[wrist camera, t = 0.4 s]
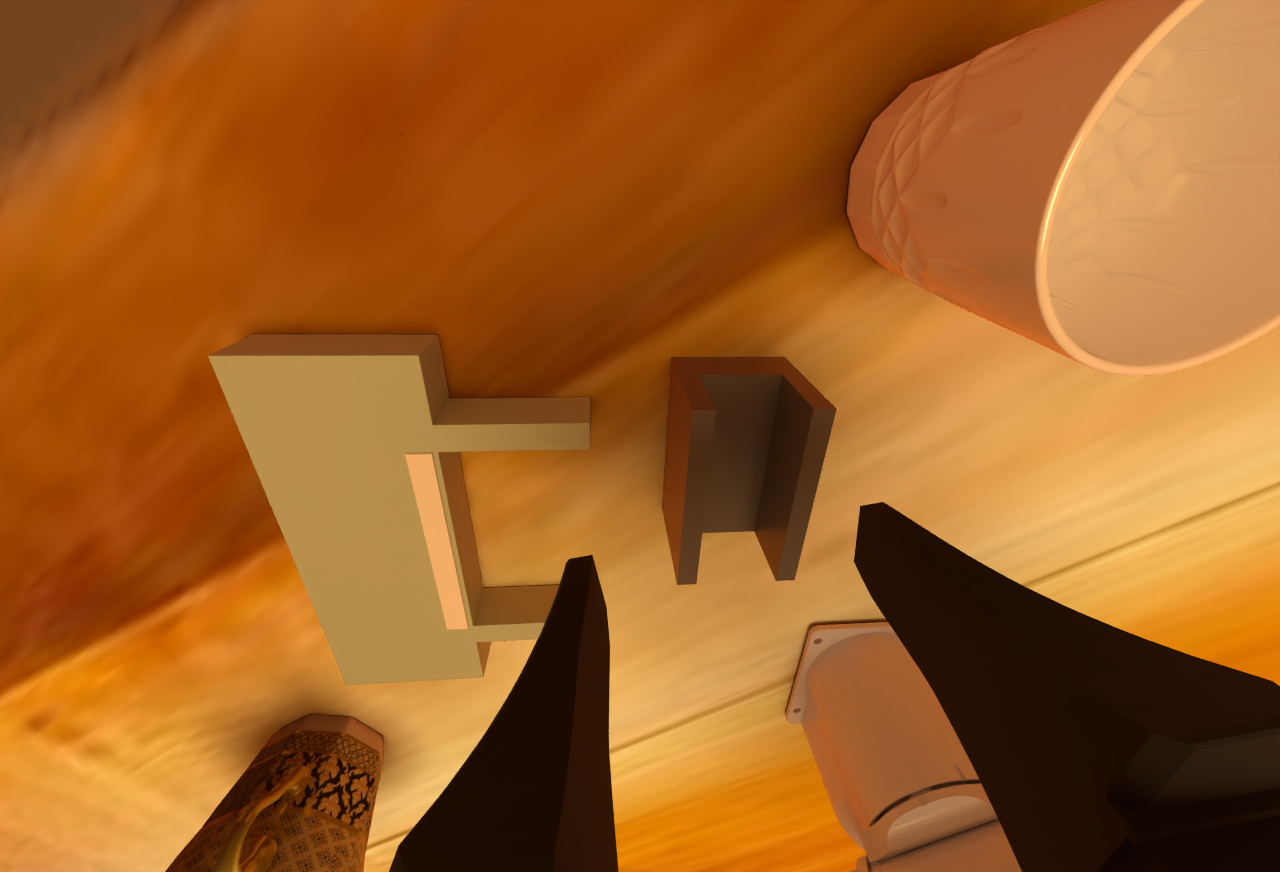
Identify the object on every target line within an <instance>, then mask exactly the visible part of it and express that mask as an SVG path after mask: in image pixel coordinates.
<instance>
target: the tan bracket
mask: <svg viewBox="0 0 1280 872" xmlns="http://www.w3.org/2000/svg"><path fill="white" fill-rule="evenodd" d="M208 357H209V359H210V361H211V364H212V366H213V369H214V371H215V373H216V376H217V378H218V380H219V383H220V385H221V388H222V390H223V392H224V395H225V397H226V400H227V402H228V404H229V407H230V409H231V411H232V414H233V416H234V419H235V421H236V423H237V426H238V428H239V431H240V433H241V435H242V438H243V440H244V443H245V445H246V447H247V450H248V452H249V454H250V457H251V459H252V462H253V464H254V466H255V469H256V471H257V474H258V476H259V478H260V481H261V483H262V485H263V488H264V490H265V493H266V495H267V497H268V500H269V502H270V505H271V507H272V509H273V512H274V514H275V516H276V519H277V521H278V524H279V526H280V528H281V531H282V533H283V536H284V538H285V540H286V543H287V545H288V547H289V550H290V552H291V555H292V557H293V559H294V562H295V564H296V567H297V569H298V571H299V574H300V576H301V578H302V581H303V583H304V586H305V588H306V590H307V593H308V595H309V598H310V600H311V602H312V605H313V607H314V609H315V612H316V614H317V617H318V619H319V621H320V624H321V626H322V629H323V631H324V633H325V636H326V638H327V640H328V643H329V645H330V648H331V650H332V652H333V655H334V657H335V660H336V662H337V664H338V667H339V669H340V672H341V674H342V676H343V679H344V681H345V683H346V685H359V684H377V683H395V682H413V681H431V680H449V679H467V678H483V677H484V672H485V668H486V663H487V659H488V654H489V650H490V645H491V642H493V641H513V640H533V639H538V638H539V635H540V633H541V631H542V629H543V626H544V624H545V621H546V619H547V616H548V614H549V612H550V609H551V607H552V604H553V602H554V599H555V596H556V594H557V591H558V588H559V585H543V586H519V587H494V588H483V584H482V579H481V573H480V567H479V562H478V556H477V550H476V545H475V539H474V534H473V528H472V522H471V517H470V511H469V505H468V500H467V494H466V488H465V483H464V477H463V472H462V466H461V460H460V455H459V452H472V451H528V450H584V449H590V431H591V414H590V397H542V398H449V393H448V387H447V381H446V376H445V370H444V364H443V359H442V353H441V347H440V342H439V336H438V335H396V334H252V335H250V336H248V337H246V338H244V339H242V340H240V341H238V342H236V343H234V344H232V345H230V346H228V347H226V348H223V349H221V350H219V351H217V352H215V353H213V354H211V355H209V356H208Z"/></svg>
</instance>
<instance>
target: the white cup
mask: <svg viewBox="0 0 1280 872" xmlns="http://www.w3.org/2000/svg"><path fill="white" fill-rule="evenodd" d="M847 215H848V218H849V221H850V223H851V226H852V229H853V232H854V234H855V237H856V240H857V243H858V245H859V248H860V249H861V250H862V251H864V252H865V253H866V254H868V255H869V256H870V257H871V258H873V259H874V260H875V261H876V262H878V263H879V264H880V265H881V266H883V267H884V268H885V269H887V270H888V271H891V272H893V273H895V274H898V275H900V276H902V277H904V278H906V279H907V280H908V281H910V282H912V283H913V284H915V285H917V286H919V287H920V288H922V289H924V290H926V291H928V292H930V293H932V294H934V295H937V296H939V297H940V298H942V299H944V300H946V301H948V302H950V303H952V304H954V305H956V306H958V307H960V308H962V309H964V310H966V311H968V312H971V313H973V314H975V315H977V316H979V317H982V318H984V319H986V320H988V321H990V322H992V323H995V324H997V325H999V326H1001V327H1003V328H1006V329H1008V330H1010V331H1012V332H1014V333H1016V334H1019V335H1021V336H1023V337H1025V338H1027V339H1030V340H1032V341H1034V342H1036V343H1038V344H1040V345H1042V346H1045V347H1047V348H1049V349H1051V350H1053V351H1055V352H1057V353H1060V354H1062V355H1064V356H1066V357H1068V358H1070V359H1072V360H1074V361H1077V362H1079V363H1081V364H1083V365H1085V366H1087V367H1090V368H1092V369H1095V370H1098V371H1101V372H1105V373H1110V374H1115V375H1124V376H1147V375H1157V374H1164V373H1169V372H1174V371H1178V370H1182V369H1186V368H1189V367H1193V366H1196V365H1199V364H1202V363H1205V362H1208V361H1210V360H1213V359H1215V358H1218V357H1220V356H1222V355H1225V354H1227V353H1229V352H1231V351H1233V350H1236V349H1238V348H1240V347H1242V346H1243V345H1245V344H1247V343H1249V342H1251V341H1253V340H1255V339H1256V338H1258V337H1260V336H1262V335H1263V334H1265V333H1267V332H1268V331H1270V330H1271V329H1273V328H1275V327H1276V326H1278V325H1279V324H1280V0H1107V1H1104V2H1102V3H1099V4H1096V5H1093V6H1090V7H1088V8H1085V9H1082V10H1079V11H1077V12H1074V13H1072V14H1069V15H1067V16H1065V17H1063V18H1060V19H1058V20H1056V21H1054V22H1052V23H1050V24H1048V25H1046V26H1043V27H1040V28H1037V29H1034V30H1032V31H1029V32H1026V33H1024V34H1022V35H1019V36H1017V37H1015V38H1013V39H1010V40H1008V41H1006V42H1004V43H1002V44H999V45H996V46H993V47H991V48H988V49H986V50H984V51H982V52H981V53H979V54H978V55H977V56H976V57H974V58H973V59H971V60H969V61H967V62H964V63H962V64H959V65H957V66H954V67H952V68H949V69H947V70H944V71H941V72H939V73H936V74H934V75H931V76H929V77H926V78H924V79H921V80H919V81H916V82H914V83H911V84H910V85H909V86H908V87H907V88H906V89H905V90H904V91H903V92H902V93H901V94H900V95H899V96H898V97H897V98H896V99H895V100H894V101H893V102H892V103H891V104H890V105H889V106H888V107H887V108H886V109H885V110H884V111H882V112H881V113H880V114H879V115H878V116H877V117H876V118H875V119H874V120H873V122H872V124H871V126H870V128H869V130H868V132H867V134H866V136H865V138H864V140H863V142H862V145H861V147H860V149H859V151H858V153H857V155H856V157H855V159H854V161H853V163H852V165H851V168H850V179H849V190H848V201H847Z"/></svg>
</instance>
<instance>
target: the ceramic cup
mask: <svg viewBox="0 0 1280 872" xmlns="http://www.w3.org/2000/svg"><path fill="white" fill-rule="evenodd" d="M382 764H383V741H382V736H381V735H380V734H378V733H376V732H375V731H373V730H371V729H370V728H368V727H366V726H365V725H363V724H361V723H360V722H358V721H357V720H355V719H353V718H351V717H343V716H328V715H313V714H310V715H307V716H305V717H303V718H301V719H299V720H297V721H295V722H294V723H292V724H290V725H288V726H286V727H284V728H282V729H280V730H279V731H278V732H277V733H275V734H274V735H273V736H272V738H271V739H270V740H269V741H268V743H267V744H266V745H265V746H264V748H263V749H262V750H261V751H260V752H259V754H258V755H257V756H256V758H255V759H254V760H253V762H252V763H251V764H250V766H249V767H248V768H247V770H246V771H245V772H244V774H243V775H242V776H241V777H240V779H239V780H238V781H237V782H236V784H235V785H234V786H233V787H232V789H231V790H230V791H229V793H228V794H227V795H226V796H225V798H224V799H223V800H222V801H221V803H220V804H219V805H218V806H217V808H216V809H215V810H214V812H213V813H212V815H211V816H210V817H209V819H208V820H207V821H206V823H205V824H204V825H203V827H202V828H201V829H200V830H199V832H198V833H197V834H196V835H195V836H194V837H193V839H192V840H191V841H190V842H189V843H188V844H187V845H186V847H185V848H184V849H183V850H182V851H181V853H180V854H179V855H178V856H177V857H176V859H175V860H174V861H173V862H172V864H171V865H170V866H169V867H168V869H167V870H166V871H165V872H363V871H364V859H365V852H366V847H367V842H368V837H369V831H370V826H371V821H372V816H373V810H374V805H375V799H376V794H377V790H378V785H379V781H380V774H381V769H382Z"/></svg>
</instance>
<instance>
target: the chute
mask: <svg viewBox="0 0 1280 872" xmlns="http://www.w3.org/2000/svg"><path fill="white" fill-rule="evenodd" d="M835 412H836V408H835V407H834V406H833V405H832V404H831V403H830V402H829V401H828V400H827V399H826V398H825V397H824V396H823V395H822V394H821V393H820V392H819V391H818V390H817V389H816V388H815V387H814V386H813V385H812V384H811V383H810V382H809V381H808V380H807V379H806V378H805V377H804V376H803V375H802V374H801V373H800V372H799V371H798V370H797V369H796V368H795V367H794V366H793V365H792V364H791V363H790V362H789V361H788V360H787V359H786V358H785V357H671V370H670V386H669V403H668V419H667V436H666V452H665V469H664V485H663V502H662V510H663V515H664V520H665V525H666V530H667V535H668V540H669V545H670V551H671V556H672V561H673V566H674V571H675V576H676V581H677V585H684V584H696V582H697V573H698V564H699V555H700V547H701V538H702V533H713V532H744V531H754V532H755V534H756V536H757V538H758V541H759V543H760V545H761V548H762V550H763V552H764V554H765V557H766V559H767V561H768V564H769V566H770V568H771V570H772V573H773V575H774V577H775V580H776V581H782V580H795V576H796V572H797V568H798V563H799V559H800V555H801V551H802V547H803V543H804V539H805V535H806V531H807V527H808V523H809V518H810V514H811V510H812V506H813V502H814V498H815V494H816V490H817V486H818V482H819V478H820V474H821V469H822V465H823V461H824V457H825V453H826V449H827V445H828V441H829V437H830V433H831V429H832V424H833V420H834V416H835Z"/></svg>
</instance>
